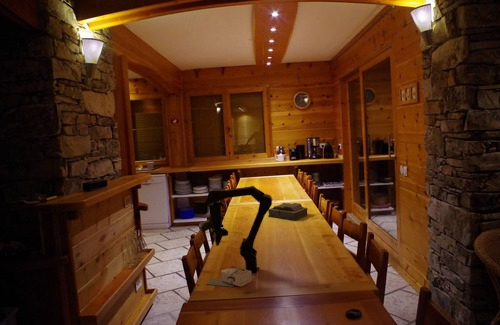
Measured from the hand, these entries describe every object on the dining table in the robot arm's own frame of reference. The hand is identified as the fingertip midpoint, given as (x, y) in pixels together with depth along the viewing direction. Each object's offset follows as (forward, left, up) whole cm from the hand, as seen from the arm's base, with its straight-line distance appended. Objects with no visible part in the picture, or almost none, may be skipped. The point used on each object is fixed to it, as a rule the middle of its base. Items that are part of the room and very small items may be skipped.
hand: (217, 245), depth 171 cm
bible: (-105, +15, -14) cm, 107 cm away
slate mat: (+12, +6, -13) cm, 19 cm away
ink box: (+7, +7, -10) cm, 15 cm away
